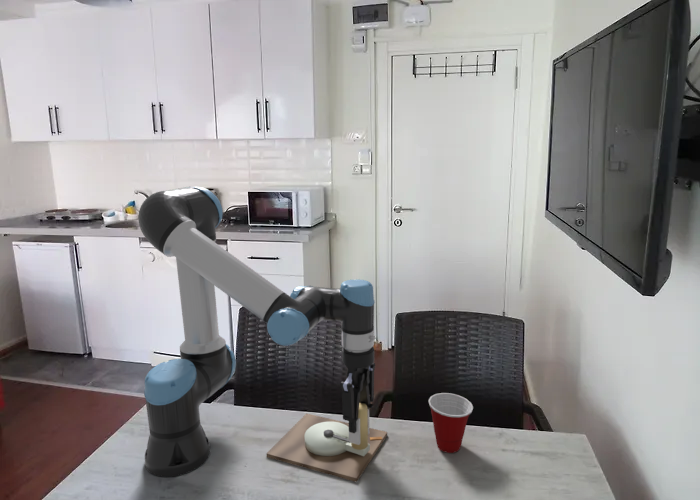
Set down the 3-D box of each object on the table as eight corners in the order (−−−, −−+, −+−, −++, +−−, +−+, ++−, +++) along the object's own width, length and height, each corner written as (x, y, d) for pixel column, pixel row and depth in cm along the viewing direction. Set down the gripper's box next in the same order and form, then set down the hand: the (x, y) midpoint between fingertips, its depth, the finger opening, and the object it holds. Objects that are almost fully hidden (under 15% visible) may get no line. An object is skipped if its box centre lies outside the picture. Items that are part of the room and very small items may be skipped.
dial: (295, 447, 125) (293, 402, 123) (322, 423, 135) (320, 382, 133) (354, 468, 117) (353, 421, 114) (378, 441, 127) (378, 398, 124)
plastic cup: (472, 461, 120) (474, 416, 118) (426, 457, 122) (427, 412, 120) (471, 436, 130) (472, 393, 128) (428, 432, 133) (429, 390, 130)
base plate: (266, 457, 124) (266, 452, 123) (306, 416, 141) (306, 412, 141) (356, 482, 114) (356, 477, 114) (387, 435, 132) (387, 431, 131)
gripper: (355, 363, 108) (356, 461, 113) (388, 336, 123) (388, 424, 128) (325, 357, 111) (327, 452, 116) (360, 331, 126) (361, 417, 131)
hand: (359, 437), depth 122 cm, fingers closed on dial, 4 cm apart
